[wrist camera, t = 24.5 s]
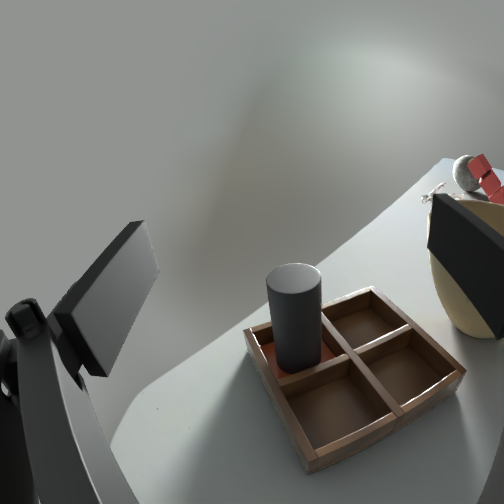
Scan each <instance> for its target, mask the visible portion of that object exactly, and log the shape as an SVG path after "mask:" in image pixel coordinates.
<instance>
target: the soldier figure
mask: <svg viewBox="0 0 504 504" xmlns="http://www.w3.org/2000/svg"><path fill="white" fill-rule="evenodd" d="M443 184H446V183H442V184H440V185H439V186H437V187H436V188H435V189H434V190H433V191H432V192H431V193H430V194H429V196H428V195H422V196H421V197H422V202H423V205H424V204H425V203H426V202H427V201H429V202H430V204H431V206H432V200H433V194H436V193H437V192H438V190H439V189H440V188H441V186H443ZM449 196H451V197H452V198H453V199H457V198H458V199H463V198H464V197H465V194H463V195H460V196H459V195H455V194H451V195H449Z"/></svg>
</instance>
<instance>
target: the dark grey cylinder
mask: <svg viewBox="0 0 504 504" xmlns="http://www.w3.org/2000/svg"><path fill="white" fill-rule="evenodd" d="M266 285H267V292H268V300H269V307H270V315H271V323H272V330H273V338H274V346H275V353H276V361H277V364H278V366H279V368H280V369H281V370H283V371H284V372H286V373H289V374H296V373H298V372H301V371H304V370H306V369H309V368H312V367H314V366H317V365H319V364H320V361H321V339H322V295H321V274H320V272H319V271H318V270H317V269H316V268H314V267H312V266H310V265H306V264H300V263H298V264H297V263H294V264H287V265H282V266H280V267H277V268H275V269H274V270H272V271H271V272H270V273H269V274H268V276H267V278H266Z"/></svg>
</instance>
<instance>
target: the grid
mask: <svg viewBox="0 0 504 504" xmlns="http://www.w3.org/2000/svg"><path fill="white" fill-rule="evenodd" d="M243 332H244V336H245V341H246V346H247V350H248V352H249V355H250V357H251V359H252V361H253V363H254V366H255V368H256V370H257V372H258V374H259V377H260V379H261V381H262V383H263V385H264V387H265V389H266V392H267V394H268V396H269V398H270V400H271V402H272V404H273V406H274V409H275V411H276V413H277V415H278V417H279V419H280V421H281V423H282V425H283V427H284V429H285V431H286V433H287V435H288V437H289V439H290V442H291V444H292V446H293V448H294V450H295V452H296V454H297V456H298V458H299V460H300V462H301V463H302V465H303V467H304V469H305V471H306V473H307V475H309V474H311V473H314V472H316V471H319V470H321V469H323V468H326V467H328V466H330V465H333V464H335V463H337V462H339V461H341V460H343V459H345V458H348V457H350V456H352V455H354V454H356V453H358V452H360V451H362V450H364V449H365V448H367V447H369V446H371V445H373V444H375V443H377V442H378V441H380V440H382V439H384V438H386V437H387V436H389V435H391V434H393V433H394V432H396V431H398V430H399V429H401V428H403V427H404V426H406V425H407V424H409V423H411V422H412V421H414V420H415V419H417V418H418V417H420V416H421V415H423V414H424V413H426V412H427V411H429V410H430V409H432V408H433V407H435V406H436V405H437V404H439V403H440V402H442V401H443V400H444V399H446V398H447V397H448V396H450V395H451V394H452V393H454V392H455V391H456V390H457V389H458V387H459V385H460V383H461V381H462V379H463V377H464V375H465V373H466V371H467V370H466V369H465V368H464V367H463V366H462V365H460V364H459V363H458V362H457V361H456V360H455V359H454V358H453V357H452V356H451V355H450V354H449V353H448V352H447V351H446V350H445V349H444V348H442V347H441V346H440V345H439V344H438V343H437V342H436V341H435V340H434V339H433V338H432V337H431V336H429V335H428V334H427V333H426V332H425V331H424V330H423V329H422V328H421V327H420V326H418V325H417V324H416V323H415V322H414V321H413V320H412V319H411V318H410V317H408V316H407V315H406V314H405V313H404V312H403V311H402V310H401V309H399V308H398V307H397V306H396V305H395V304H394V303H393V302H391V301H390V300H389V299H388V298H387V297H386V296H385V295H383V294H382V293H381V292H380V291H379V290H378V289H376V288H375V287H374V286H373V285H372V286H370V287H368V288H365V289H362V290H359V291H357V292H354V293H351V294H349V295H346V296H343V297H341V298H338V299H335V300H332V301H330V302H327V303H324V304H322V339H321V361H320V364H319V365H317V366H314V367H312V368H309V369H306V370H304V371H301V372H298V373H296V374H289V373H286V372H284V371H283V370H281V369H280V368H279V366H278V364H277V361H276V353H275V346H274V338H273V330H272V323H271V322H267V323H264V324H261V325H258V326H255V327H252V328H248V329H245V330H243Z"/></svg>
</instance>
